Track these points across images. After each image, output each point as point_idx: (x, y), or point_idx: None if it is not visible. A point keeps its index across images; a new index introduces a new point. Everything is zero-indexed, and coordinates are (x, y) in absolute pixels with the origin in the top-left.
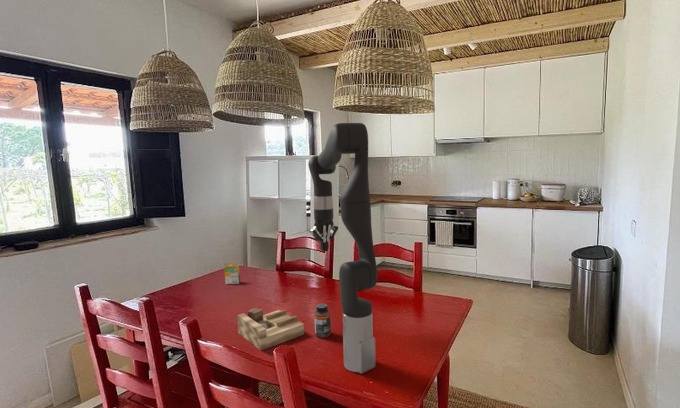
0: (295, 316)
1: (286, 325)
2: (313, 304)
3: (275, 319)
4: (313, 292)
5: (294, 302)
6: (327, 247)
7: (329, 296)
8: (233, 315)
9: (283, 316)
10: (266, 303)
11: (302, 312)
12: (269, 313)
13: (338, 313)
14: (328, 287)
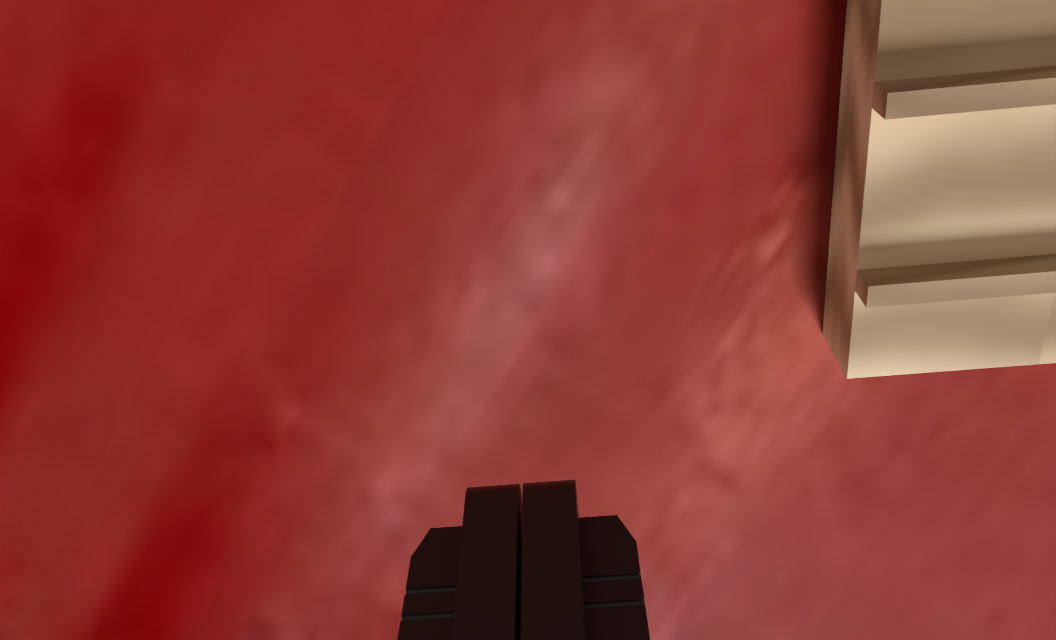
0: (900, 102)
1: (1027, 37)
2: (437, 426)
3: (1005, 221)
4: (317, 611)
5: None
6: (471, 558)
7: (236, 486)
8: (1024, 571)
9: (910, 238)
10: (726, 621)
11: (600, 344)
12: (956, 362)
13: (343, 143)
14: (158, 630)
